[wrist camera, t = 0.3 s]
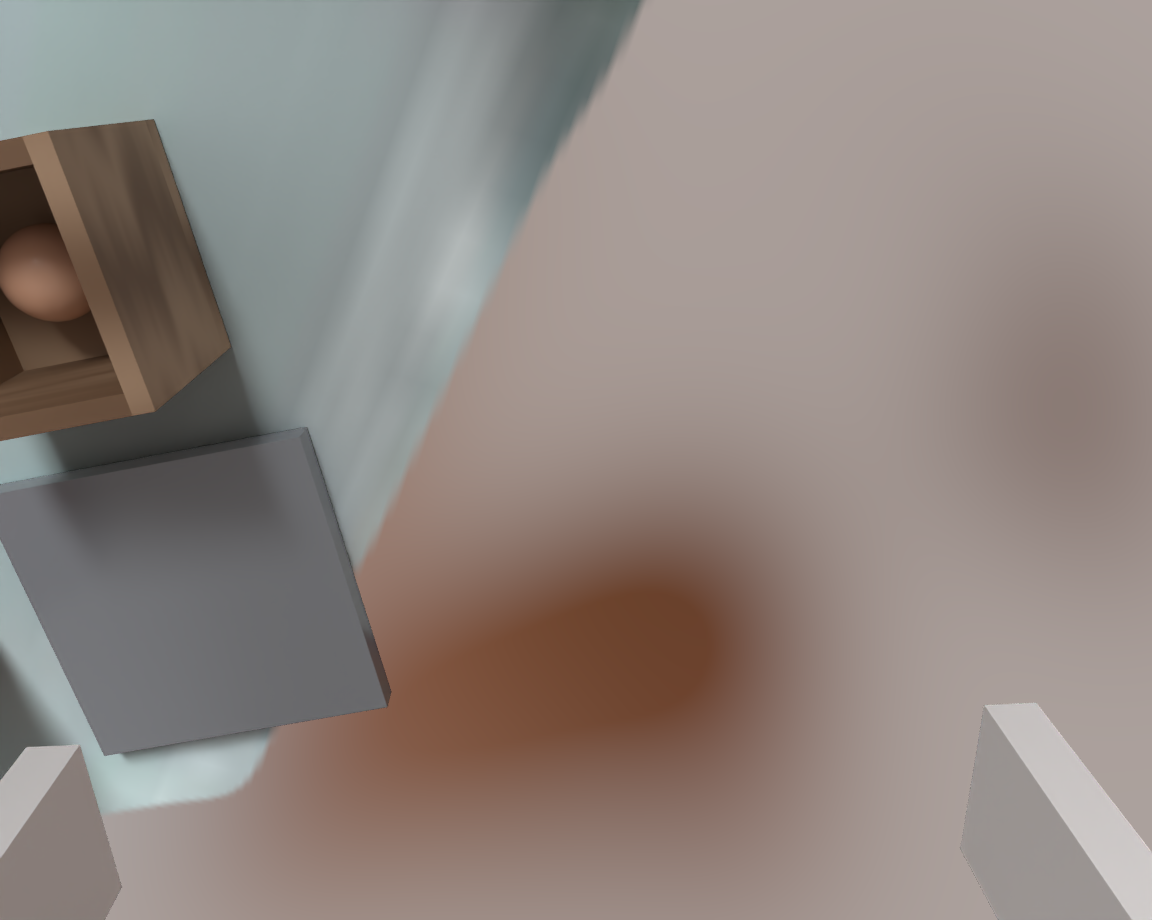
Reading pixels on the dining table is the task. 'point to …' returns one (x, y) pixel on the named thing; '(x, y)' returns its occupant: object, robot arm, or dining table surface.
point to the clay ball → (41, 275)
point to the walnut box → (104, 281)
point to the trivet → (196, 591)
